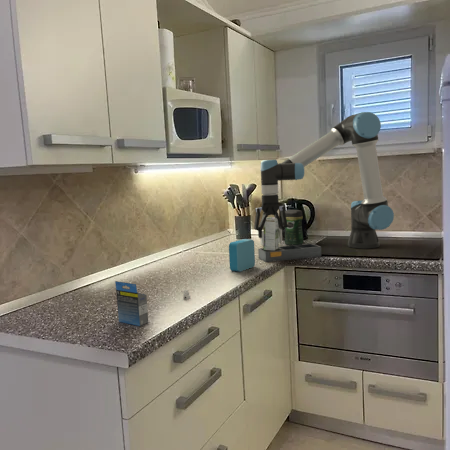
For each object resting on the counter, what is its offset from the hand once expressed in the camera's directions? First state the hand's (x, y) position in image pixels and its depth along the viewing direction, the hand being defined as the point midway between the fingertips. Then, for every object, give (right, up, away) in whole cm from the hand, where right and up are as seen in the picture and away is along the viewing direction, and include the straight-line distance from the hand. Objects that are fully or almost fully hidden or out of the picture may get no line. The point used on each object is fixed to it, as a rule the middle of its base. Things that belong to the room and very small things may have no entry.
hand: (271, 244), depth 209 cm
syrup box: (0, -3, 0) cm, 3 cm away
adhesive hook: (-35, -17, -55) cm, 68 cm away
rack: (+9, -6, +3) cm, 11 cm away
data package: (-14, -10, -16) cm, 23 cm away
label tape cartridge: (-48, -20, -76) cm, 92 cm away
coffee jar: (+16, -2, +35) cm, 39 cm away
